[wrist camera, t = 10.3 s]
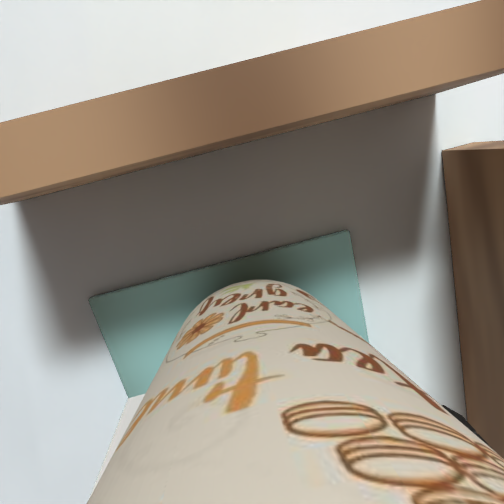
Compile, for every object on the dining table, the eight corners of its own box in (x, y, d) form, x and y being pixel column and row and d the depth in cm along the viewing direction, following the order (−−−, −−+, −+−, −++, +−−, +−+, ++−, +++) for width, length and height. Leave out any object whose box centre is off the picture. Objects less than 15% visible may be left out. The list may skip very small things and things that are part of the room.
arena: (163, 532, 16) (132, 735, 11) (6, 166, 12) (-200, 173, 6) (494, 441, 17) (637, 590, 11) (466, 47, 12) (691, -54, 6)
